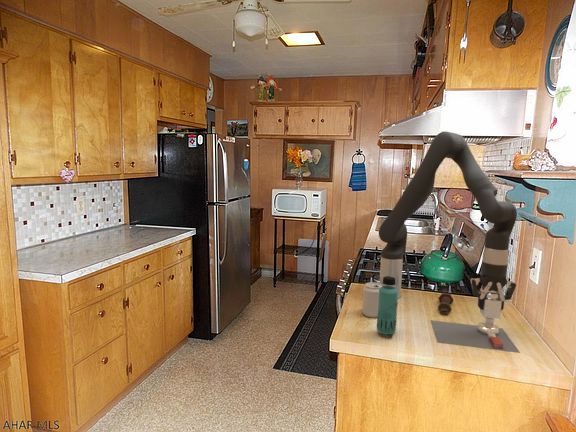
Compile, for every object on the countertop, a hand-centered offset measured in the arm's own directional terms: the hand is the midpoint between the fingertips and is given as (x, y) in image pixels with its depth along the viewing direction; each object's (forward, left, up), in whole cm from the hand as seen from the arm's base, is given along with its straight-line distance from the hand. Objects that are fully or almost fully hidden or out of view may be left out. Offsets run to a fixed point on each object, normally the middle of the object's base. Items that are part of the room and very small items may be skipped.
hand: (490, 309), depth 129 cm
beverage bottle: (-34, -10, -9) cm, 37 cm away
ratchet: (0, -4, -8) cm, 9 cm away
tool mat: (-6, -4, -9) cm, 12 cm away
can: (-39, +6, -9) cm, 40 cm away
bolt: (-11, +19, -9) cm, 24 cm away
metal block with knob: (0, 0, -2) cm, 2 cm away
